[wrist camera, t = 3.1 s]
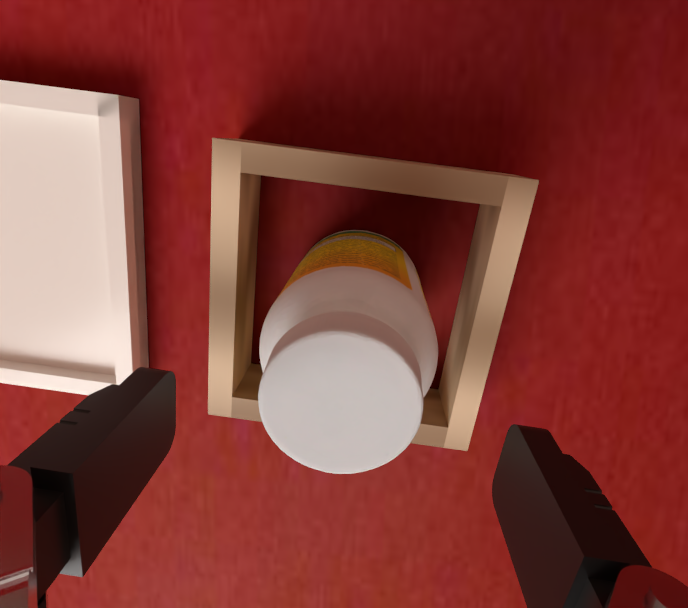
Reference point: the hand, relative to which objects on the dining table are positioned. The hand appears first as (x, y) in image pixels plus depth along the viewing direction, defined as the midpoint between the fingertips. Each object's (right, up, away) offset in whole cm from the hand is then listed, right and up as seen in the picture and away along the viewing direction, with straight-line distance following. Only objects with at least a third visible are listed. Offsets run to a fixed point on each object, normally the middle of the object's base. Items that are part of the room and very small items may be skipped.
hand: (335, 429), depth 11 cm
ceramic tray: (-15, +6, +9) cm, 19 cm away
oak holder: (+1, +4, +9) cm, 10 cm away
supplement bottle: (+1, +4, +9) cm, 10 cm away
